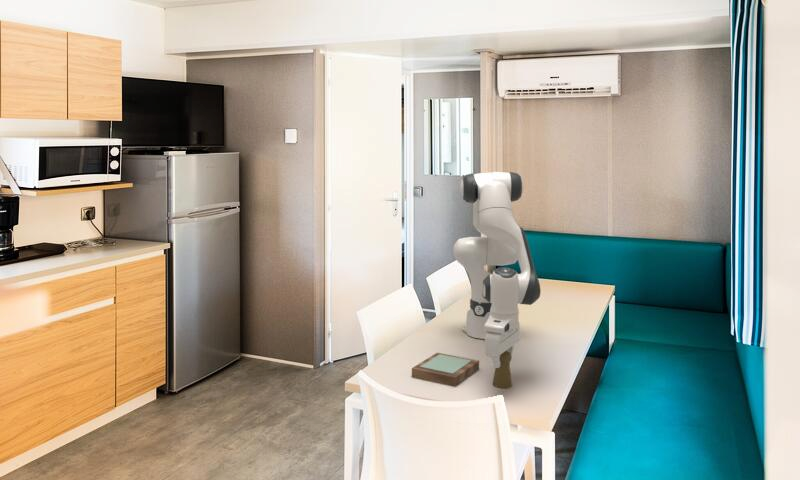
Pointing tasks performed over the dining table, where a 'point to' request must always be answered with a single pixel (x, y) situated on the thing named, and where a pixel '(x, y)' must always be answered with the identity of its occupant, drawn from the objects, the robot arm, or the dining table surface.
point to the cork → (503, 372)
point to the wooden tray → (445, 369)
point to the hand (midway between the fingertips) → (502, 362)
